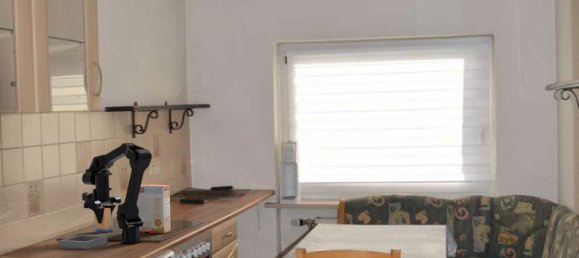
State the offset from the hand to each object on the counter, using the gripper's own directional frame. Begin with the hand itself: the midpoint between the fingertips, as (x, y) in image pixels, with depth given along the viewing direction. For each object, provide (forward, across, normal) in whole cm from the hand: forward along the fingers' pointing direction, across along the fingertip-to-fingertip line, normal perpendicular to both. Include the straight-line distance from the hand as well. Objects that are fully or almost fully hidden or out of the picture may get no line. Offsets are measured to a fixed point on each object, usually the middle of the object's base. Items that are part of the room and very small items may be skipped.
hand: (103, 222), depth 300 cm
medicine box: (+7, -15, -11) cm, 20 cm away
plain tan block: (+2, 0, 0) cm, 2 cm away
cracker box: (+7, -20, +12) cm, 24 cm away
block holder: (+7, +16, +2) cm, 17 cm away
